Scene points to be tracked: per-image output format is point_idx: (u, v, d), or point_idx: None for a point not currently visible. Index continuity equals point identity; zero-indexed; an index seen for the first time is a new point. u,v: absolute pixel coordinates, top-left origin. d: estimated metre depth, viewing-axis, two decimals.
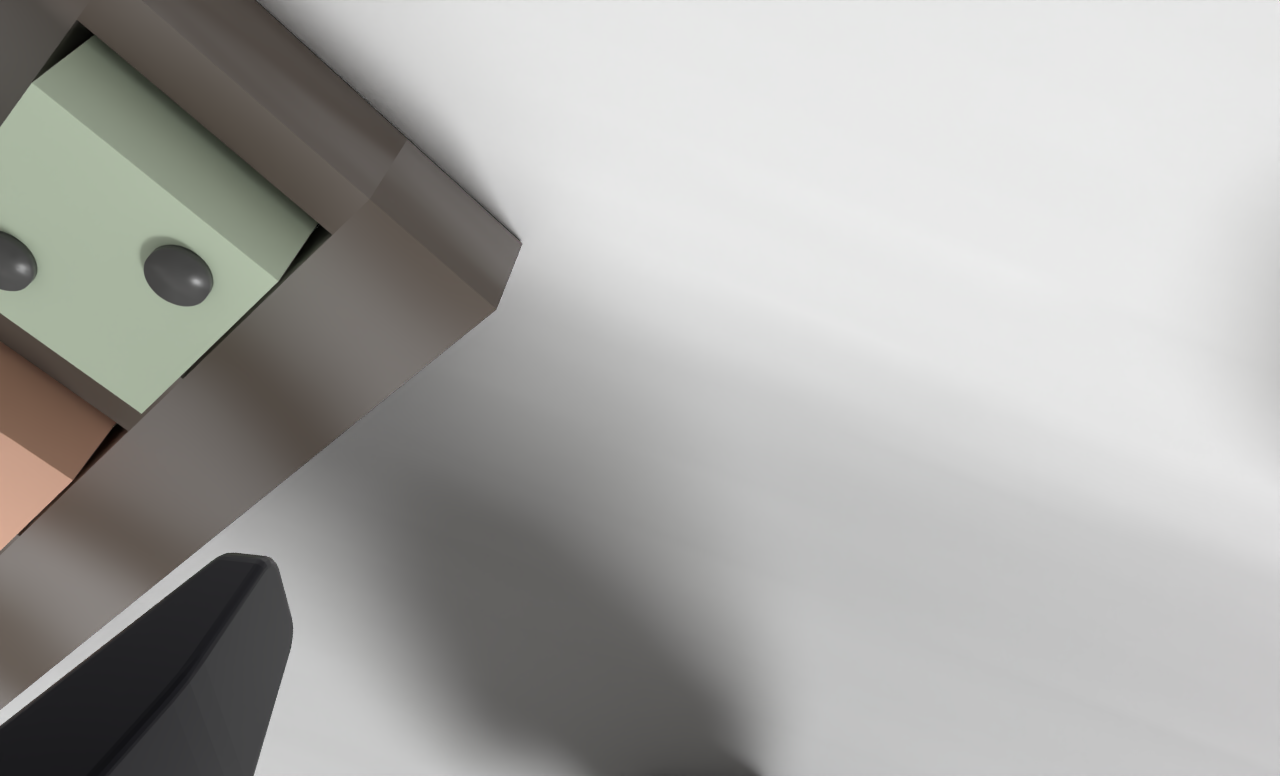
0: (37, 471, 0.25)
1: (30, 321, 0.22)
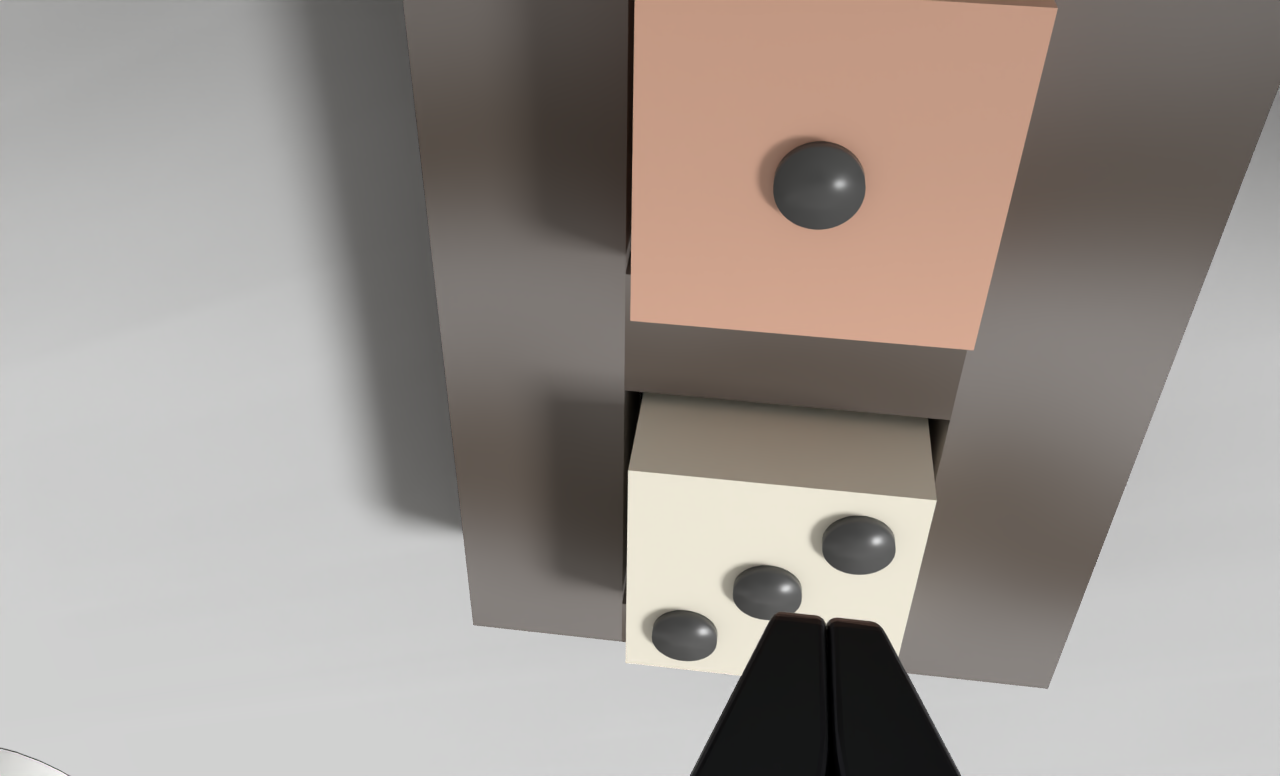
0: (994, 37, 0.14)
1: None
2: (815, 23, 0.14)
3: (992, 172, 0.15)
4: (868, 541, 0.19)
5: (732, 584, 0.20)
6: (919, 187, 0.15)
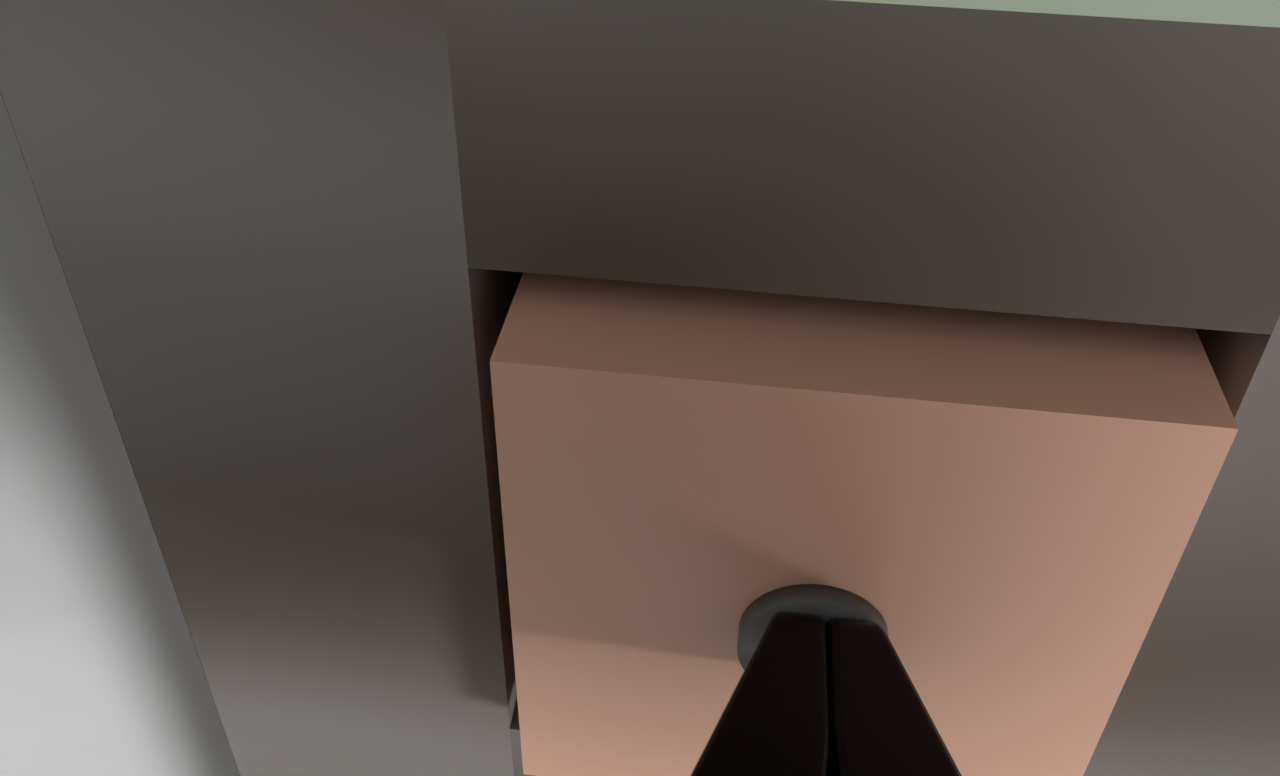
0: (1119, 464, 0.08)
1: None
2: (803, 431, 0.08)
3: (1101, 637, 0.09)
4: None
5: None
6: (977, 649, 0.09)
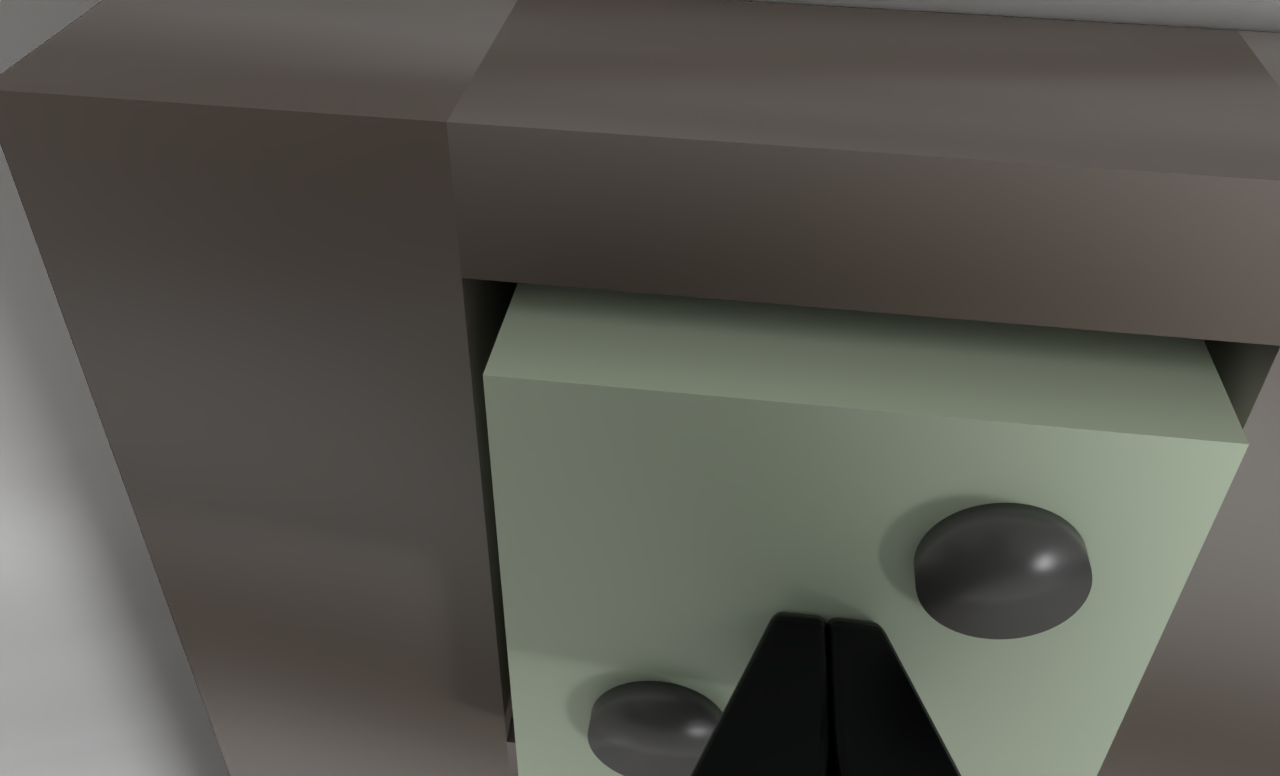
0: None
1: None
2: None
3: None
4: None
5: None
6: None
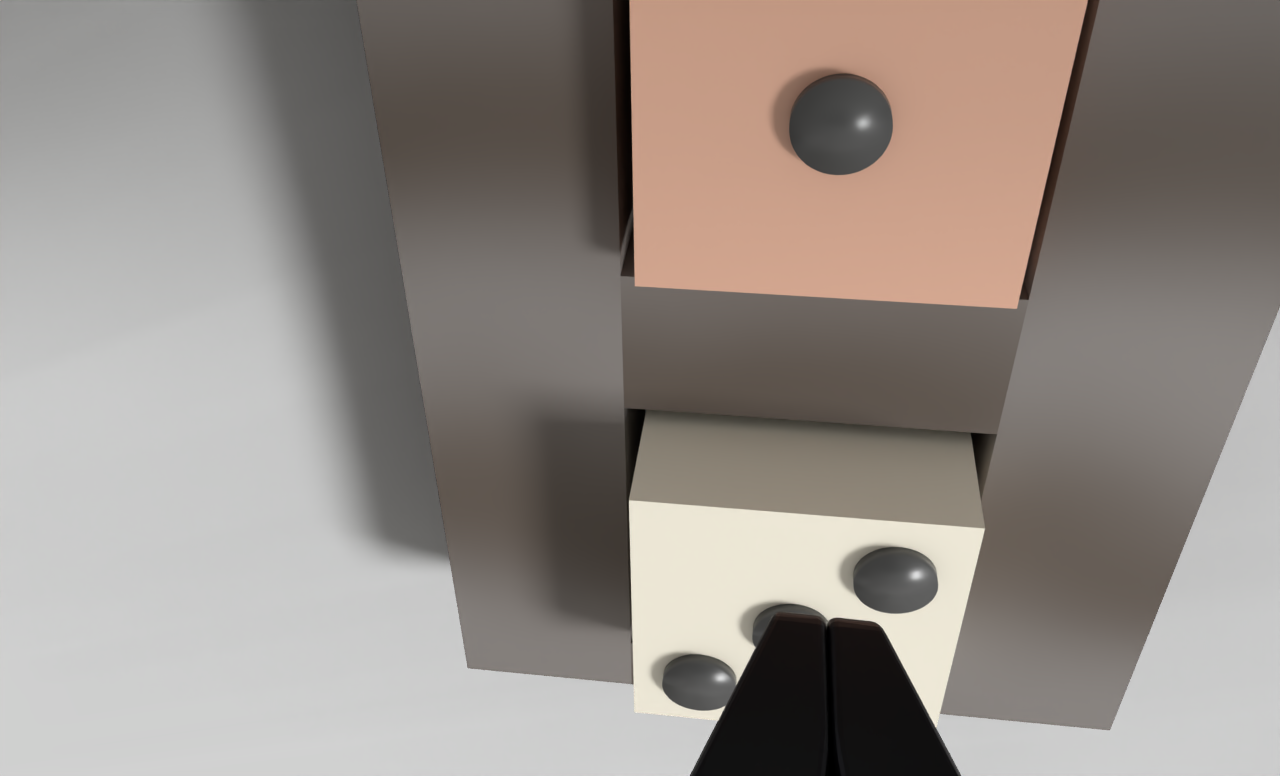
0: None
1: None
2: None
3: (1035, 103, 0.13)
4: (906, 576, 0.16)
5: (752, 625, 0.18)
6: (953, 122, 0.13)
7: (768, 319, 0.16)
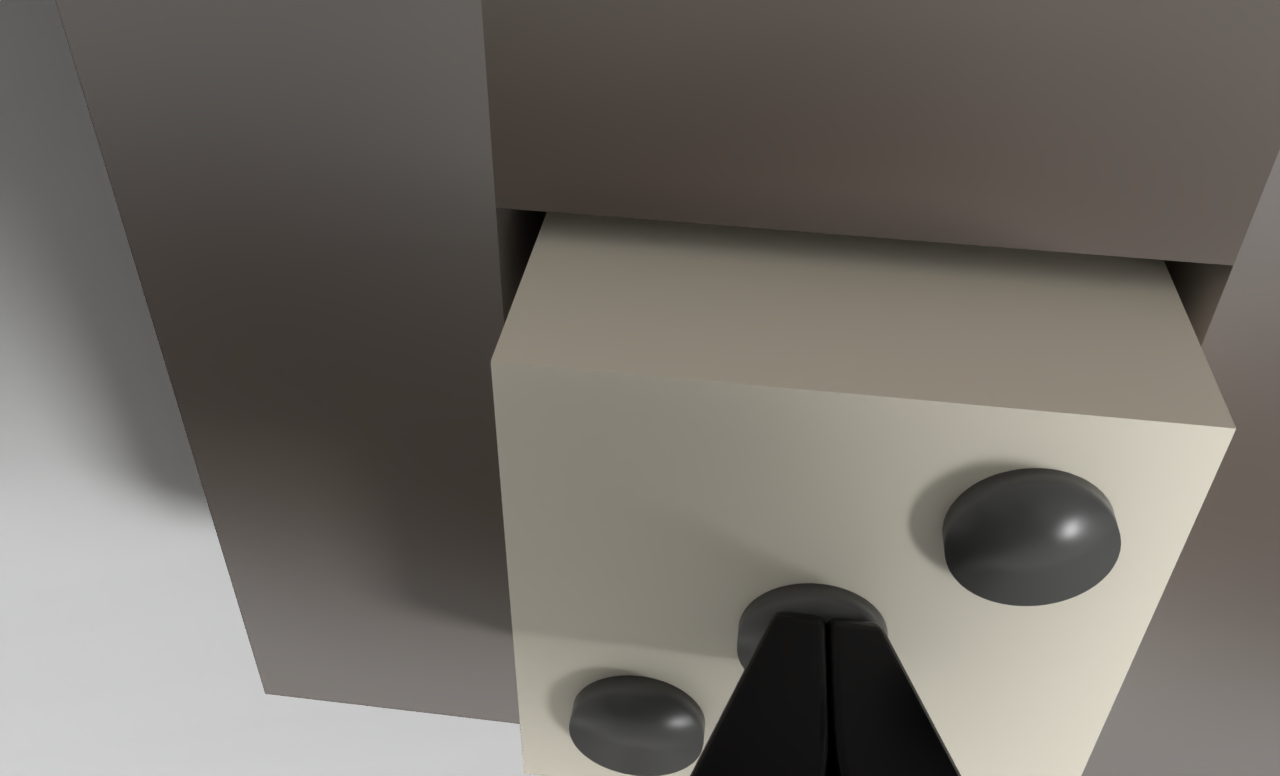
0: None
1: None
2: None
3: None
4: (1057, 529, 0.08)
5: (736, 624, 0.09)
6: None
7: None
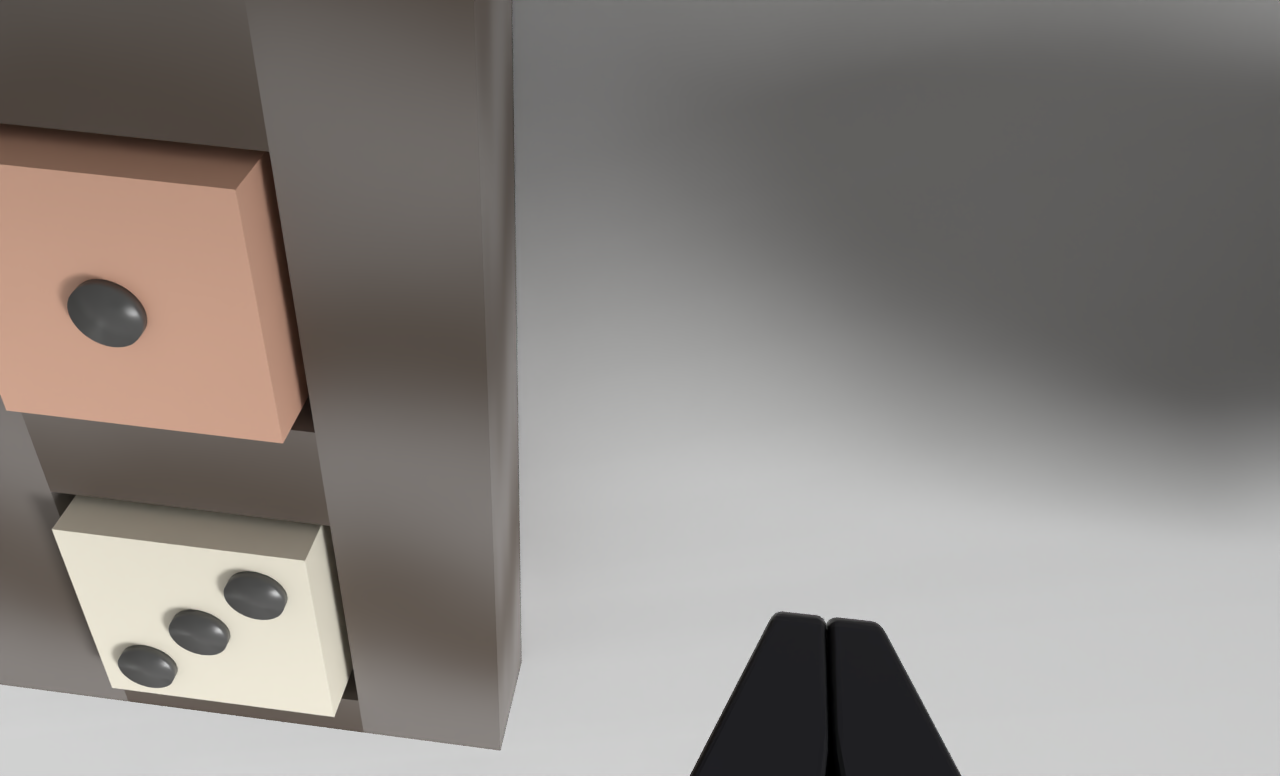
0: (196, 208, 0.17)
1: None
2: (58, 191, 0.17)
3: (238, 308, 0.18)
4: (258, 593, 0.22)
5: (172, 624, 0.24)
6: (188, 317, 0.18)
7: (134, 435, 0.21)
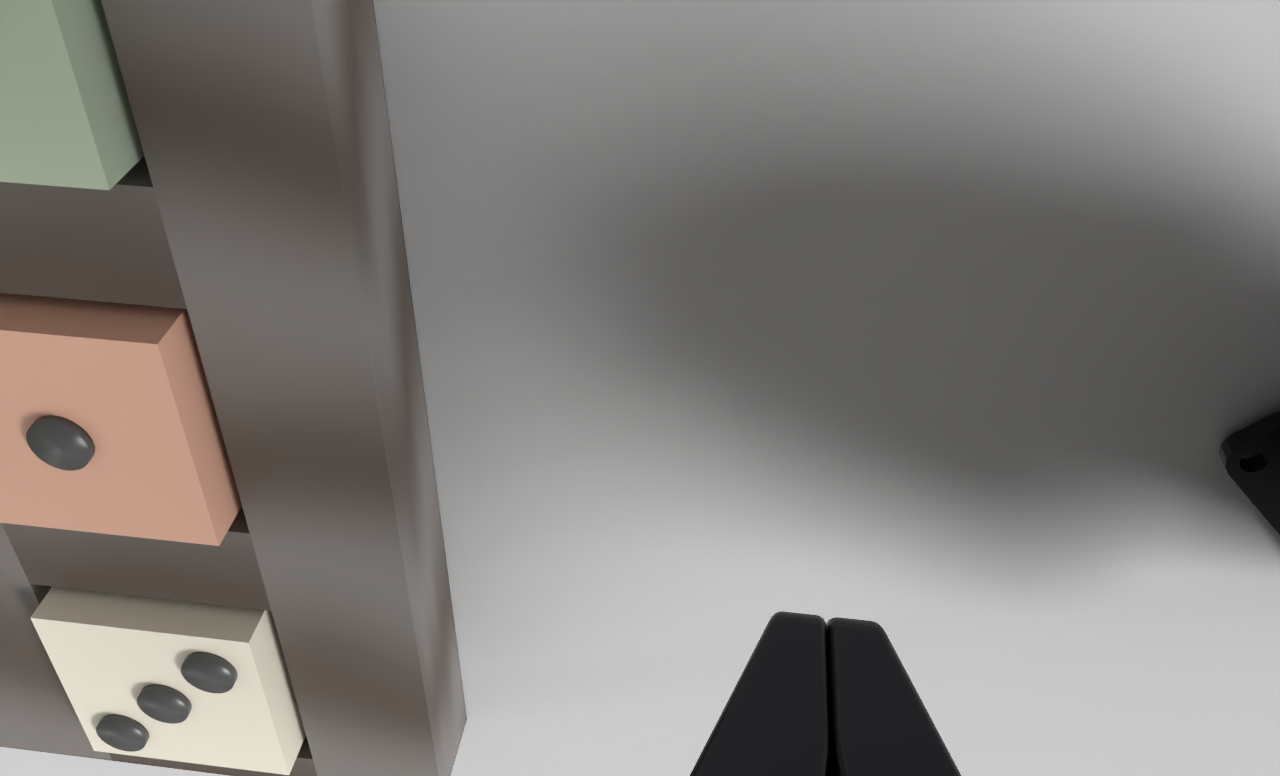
0: (127, 359, 0.20)
1: None
2: (11, 347, 0.20)
3: (170, 437, 0.21)
4: (210, 670, 0.25)
5: (140, 697, 0.27)
6: (128, 444, 0.21)
7: (96, 536, 0.24)
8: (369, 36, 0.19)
